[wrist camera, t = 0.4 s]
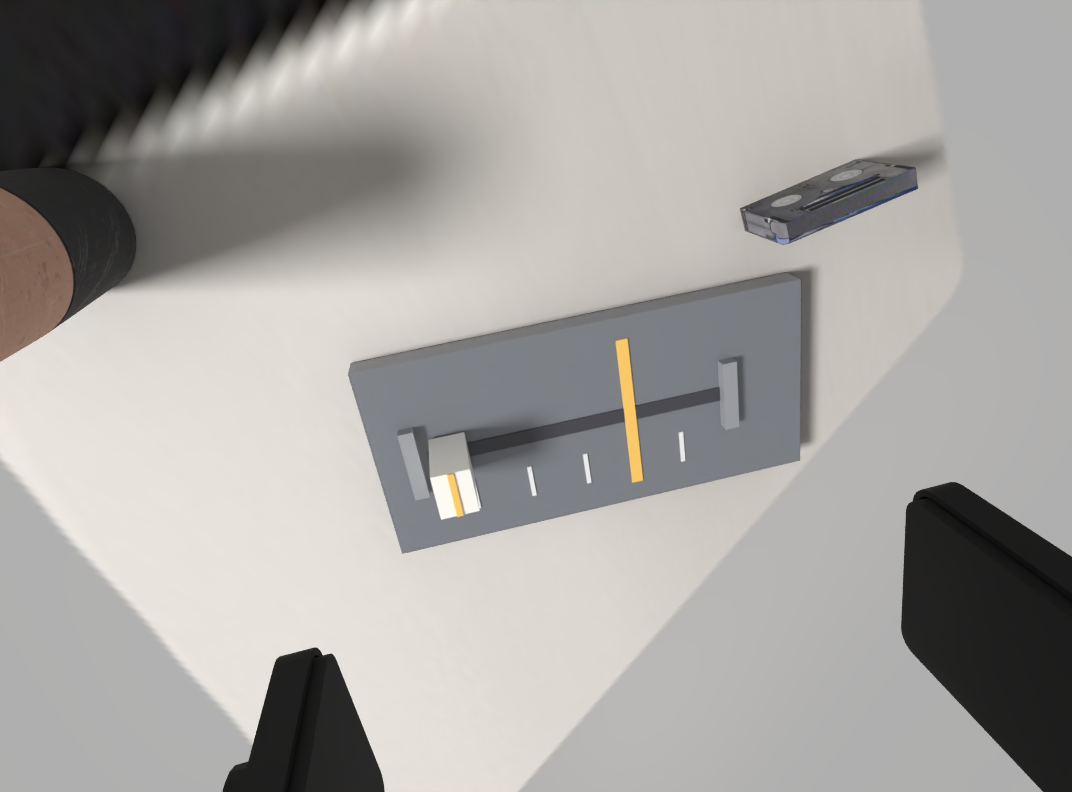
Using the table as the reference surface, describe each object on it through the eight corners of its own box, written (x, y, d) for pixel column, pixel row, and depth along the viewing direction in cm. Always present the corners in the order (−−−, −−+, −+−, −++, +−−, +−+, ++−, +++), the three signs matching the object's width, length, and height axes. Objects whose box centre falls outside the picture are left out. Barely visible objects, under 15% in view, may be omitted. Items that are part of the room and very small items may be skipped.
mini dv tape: (744, 230, 45) (789, 247, 39) (738, 208, 44) (784, 223, 38) (857, 181, 45) (919, 192, 39) (854, 159, 44) (916, 167, 38)
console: (350, 363, 44) (346, 379, 41) (785, 272, 46) (807, 281, 44) (402, 537, 49) (402, 560, 47) (786, 448, 52) (805, 465, 49)
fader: (428, 439, 44) (429, 479, 39) (464, 432, 44) (470, 470, 40) (438, 478, 45) (440, 520, 41) (473, 470, 46) (479, 511, 41)
